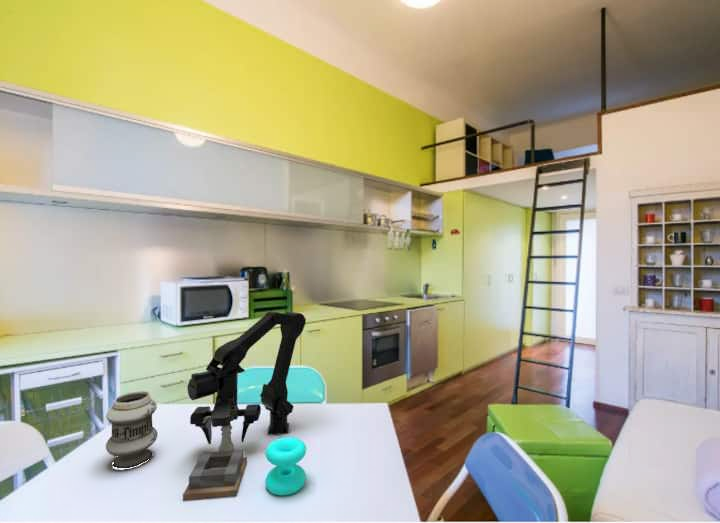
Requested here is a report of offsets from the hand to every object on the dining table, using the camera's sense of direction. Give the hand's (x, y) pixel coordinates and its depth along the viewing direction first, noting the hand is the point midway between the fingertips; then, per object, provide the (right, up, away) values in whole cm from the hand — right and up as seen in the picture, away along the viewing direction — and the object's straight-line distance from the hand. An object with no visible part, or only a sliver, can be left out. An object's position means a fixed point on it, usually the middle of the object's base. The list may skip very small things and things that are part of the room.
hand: (226, 442), depth 100 cm
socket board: (+3, -3, -13) cm, 13 cm away
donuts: (+21, -3, -14) cm, 25 cm away
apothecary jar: (-25, -3, -5) cm, 25 cm away
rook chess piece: (0, -3, 0) cm, 3 cm away
